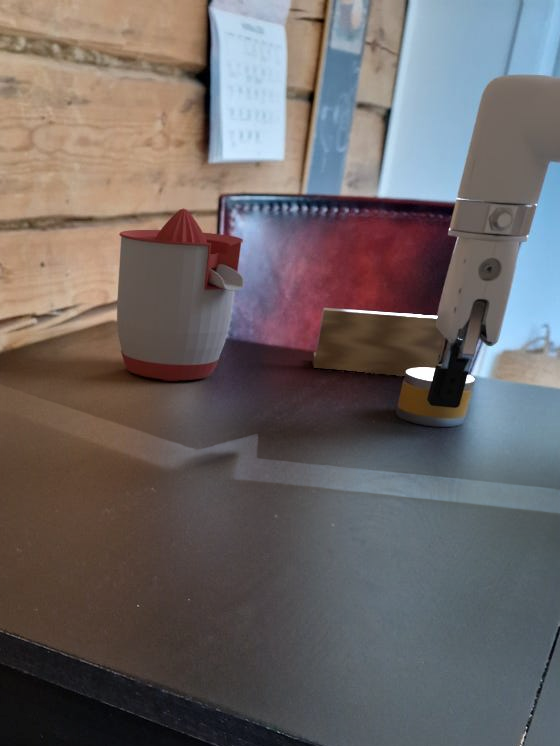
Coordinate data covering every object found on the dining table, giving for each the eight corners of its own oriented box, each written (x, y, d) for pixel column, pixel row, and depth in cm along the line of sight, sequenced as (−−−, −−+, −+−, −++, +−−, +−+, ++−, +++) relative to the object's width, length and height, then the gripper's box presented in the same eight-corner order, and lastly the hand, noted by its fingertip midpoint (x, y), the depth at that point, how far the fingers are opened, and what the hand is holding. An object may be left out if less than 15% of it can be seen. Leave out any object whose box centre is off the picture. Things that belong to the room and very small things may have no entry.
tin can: (458, 413, 104) (469, 371, 102) (468, 430, 98) (480, 386, 95) (392, 406, 105) (402, 365, 103) (398, 423, 99) (408, 379, 96)
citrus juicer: (183, 396, 106) (202, 216, 95) (87, 368, 116) (94, 203, 106) (260, 379, 115) (284, 214, 105) (164, 355, 126) (178, 203, 116)
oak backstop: (438, 371, 125) (452, 313, 120) (444, 380, 119) (460, 320, 115) (312, 360, 127) (322, 303, 123) (313, 369, 122) (324, 309, 118)
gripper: (551, 231, 79) (492, 426, 88) (511, 219, 92) (464, 392, 101) (466, 225, 80) (417, 419, 89) (439, 215, 93) (398, 385, 102)
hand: (442, 404), depth 95 cm, fingers closed
